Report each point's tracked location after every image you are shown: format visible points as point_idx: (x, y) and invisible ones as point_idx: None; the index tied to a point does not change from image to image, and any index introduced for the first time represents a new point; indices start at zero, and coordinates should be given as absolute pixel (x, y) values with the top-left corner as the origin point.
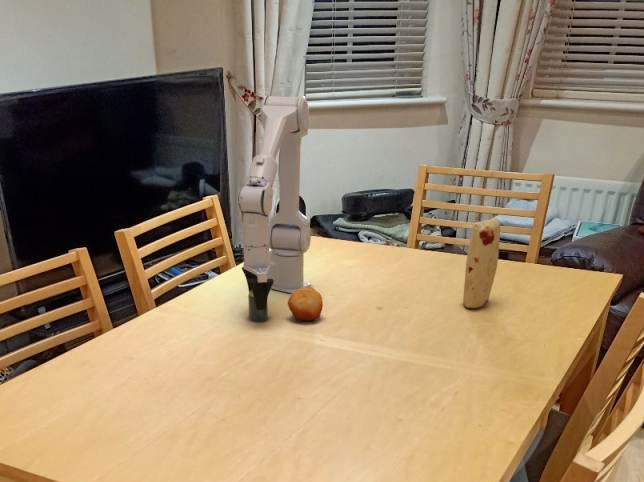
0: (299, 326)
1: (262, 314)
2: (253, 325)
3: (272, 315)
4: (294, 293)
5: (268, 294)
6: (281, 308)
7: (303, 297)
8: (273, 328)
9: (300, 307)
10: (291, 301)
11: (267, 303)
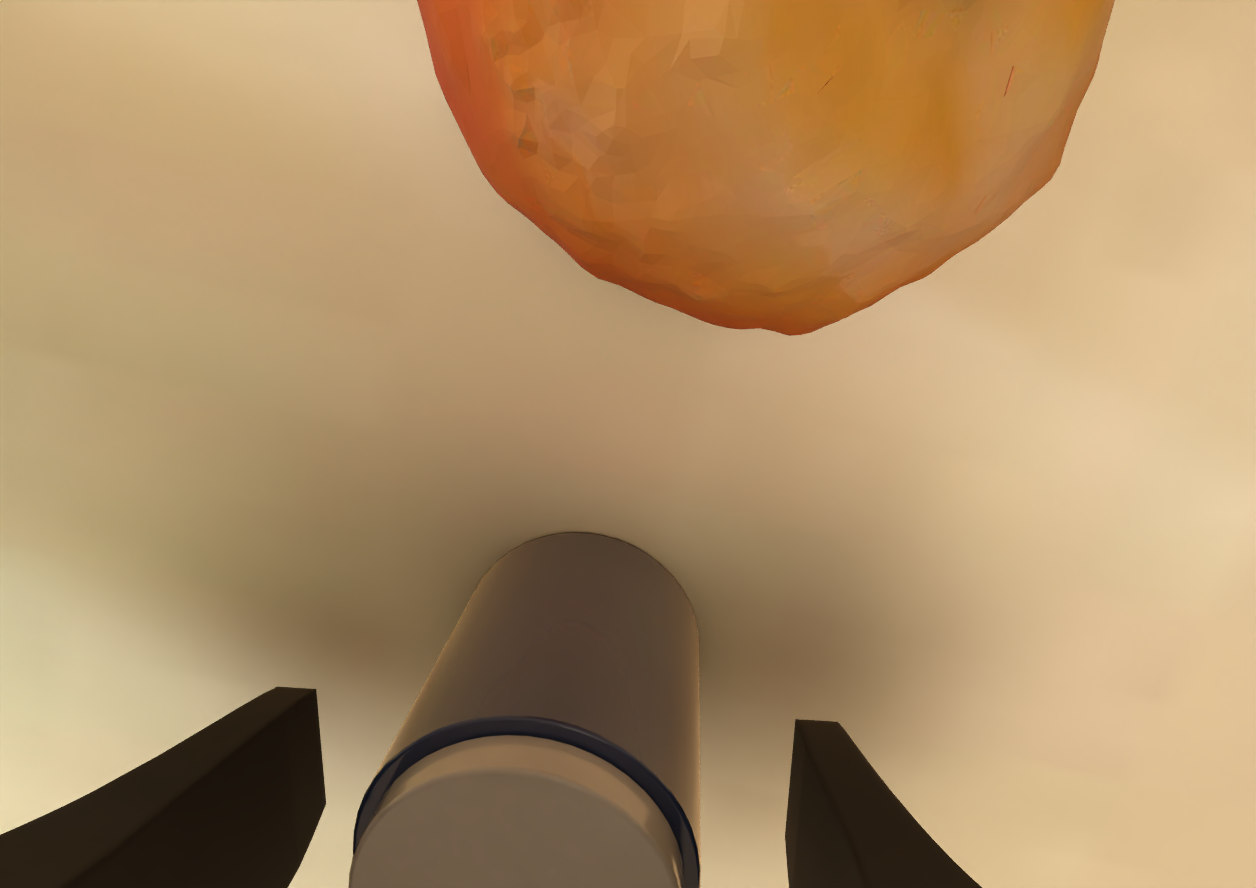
0: None
1: (694, 666)
2: (782, 738)
3: (501, 452)
4: (742, 195)
5: (970, 879)
6: (258, 273)
7: (983, 10)
8: (962, 544)
9: (1062, 142)
10: (874, 295)
11: (592, 639)
